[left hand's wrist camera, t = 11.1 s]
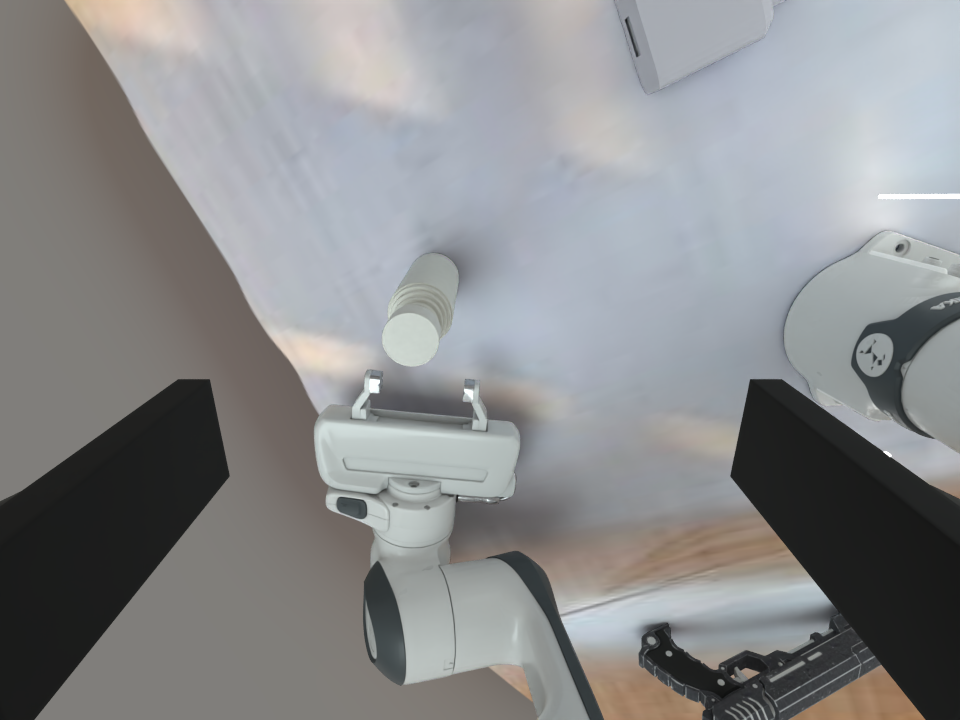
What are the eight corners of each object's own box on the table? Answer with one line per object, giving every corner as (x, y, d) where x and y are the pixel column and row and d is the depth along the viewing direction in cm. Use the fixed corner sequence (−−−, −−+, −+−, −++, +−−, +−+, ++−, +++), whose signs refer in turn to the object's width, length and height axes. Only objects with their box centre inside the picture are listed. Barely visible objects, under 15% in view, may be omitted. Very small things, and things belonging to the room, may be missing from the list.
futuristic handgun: (793, 578, 77) (902, 660, 64) (630, 658, 69) (716, 772, 55) (796, 558, 75) (907, 637, 62) (630, 637, 67) (717, 748, 54)
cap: (376, 322, 36) (370, 331, 34) (421, 294, 35) (418, 302, 33) (406, 365, 37) (402, 376, 35) (451, 339, 36) (449, 349, 34)
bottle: (399, 269, 51) (358, 326, 34) (441, 243, 51) (421, 287, 33) (426, 311, 53) (401, 385, 36) (468, 286, 52) (462, 350, 35)
